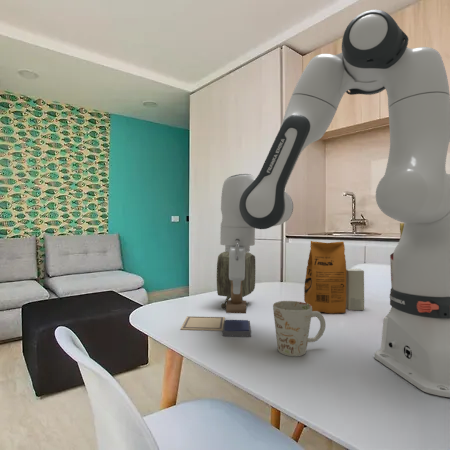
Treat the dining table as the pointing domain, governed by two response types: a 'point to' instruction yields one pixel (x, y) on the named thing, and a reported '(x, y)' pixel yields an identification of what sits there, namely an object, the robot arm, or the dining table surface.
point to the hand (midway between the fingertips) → (236, 291)
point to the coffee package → (326, 278)
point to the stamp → (236, 302)
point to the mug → (295, 326)
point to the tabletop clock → (225, 282)
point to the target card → (203, 323)
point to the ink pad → (236, 328)
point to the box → (354, 289)
